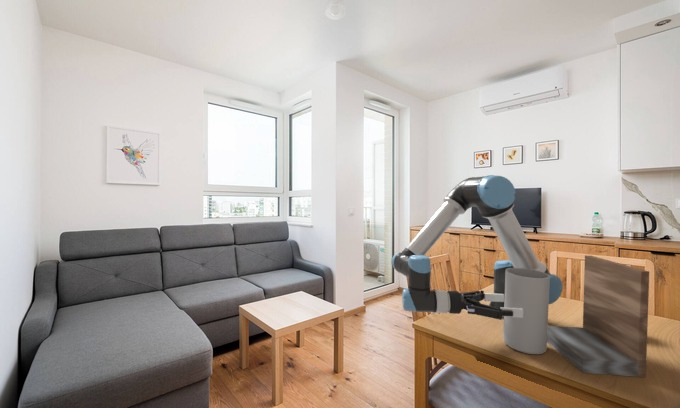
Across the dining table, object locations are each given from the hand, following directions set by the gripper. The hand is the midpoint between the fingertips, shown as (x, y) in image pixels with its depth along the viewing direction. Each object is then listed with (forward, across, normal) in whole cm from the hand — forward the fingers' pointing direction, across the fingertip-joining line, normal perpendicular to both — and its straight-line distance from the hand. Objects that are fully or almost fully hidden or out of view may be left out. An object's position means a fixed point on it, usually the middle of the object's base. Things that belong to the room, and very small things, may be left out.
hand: (512, 304), depth 98 cm
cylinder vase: (+4, 0, -14) cm, 15 cm away
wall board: (+21, +2, -14) cm, 26 cm away
